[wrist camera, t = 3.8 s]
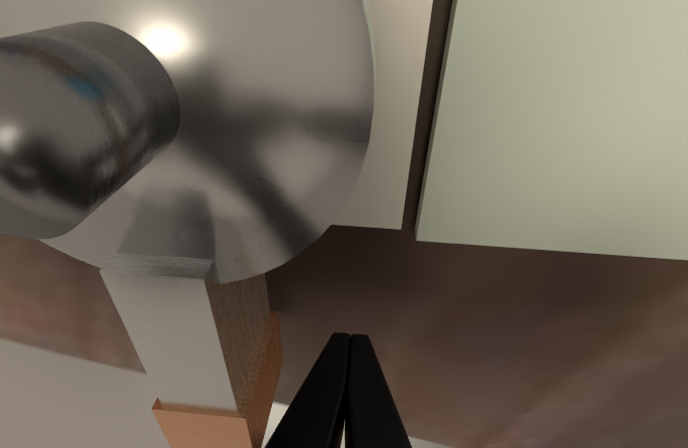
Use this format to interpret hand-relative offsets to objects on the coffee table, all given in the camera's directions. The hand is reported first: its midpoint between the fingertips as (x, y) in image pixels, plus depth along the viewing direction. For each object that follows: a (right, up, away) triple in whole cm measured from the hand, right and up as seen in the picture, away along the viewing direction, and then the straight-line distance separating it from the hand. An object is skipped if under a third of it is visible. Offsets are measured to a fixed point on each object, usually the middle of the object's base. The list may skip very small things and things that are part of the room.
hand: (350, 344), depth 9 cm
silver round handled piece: (-3, +4, 0) cm, 5 cm away
